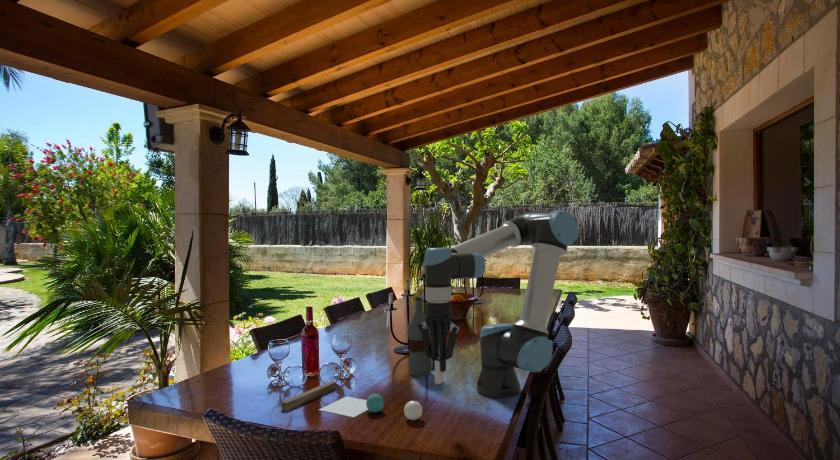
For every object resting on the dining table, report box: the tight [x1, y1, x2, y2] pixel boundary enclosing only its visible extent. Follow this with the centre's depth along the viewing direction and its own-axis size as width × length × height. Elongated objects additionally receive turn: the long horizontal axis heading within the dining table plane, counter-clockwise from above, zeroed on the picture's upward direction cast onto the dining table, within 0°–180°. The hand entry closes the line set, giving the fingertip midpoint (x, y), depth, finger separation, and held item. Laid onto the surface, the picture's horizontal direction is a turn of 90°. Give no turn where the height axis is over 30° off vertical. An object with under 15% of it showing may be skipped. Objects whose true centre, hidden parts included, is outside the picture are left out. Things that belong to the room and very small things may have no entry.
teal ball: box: [366, 393, 385, 413], centre depth 159 cm, size 6×6×6 cm
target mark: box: [318, 395, 369, 418], centre depth 164 cm, size 14×14×1 cm
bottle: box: [407, 296, 432, 377], centre depth 200 cm, size 9×9×30 cm
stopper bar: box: [281, 381, 337, 412], centre depth 173 cm, size 2×24×2 cm, turn 150°
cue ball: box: [403, 400, 423, 421], centre depth 152 cm, size 6×6×6 cm
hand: (439, 382), depth 147 cm, fingers closed
